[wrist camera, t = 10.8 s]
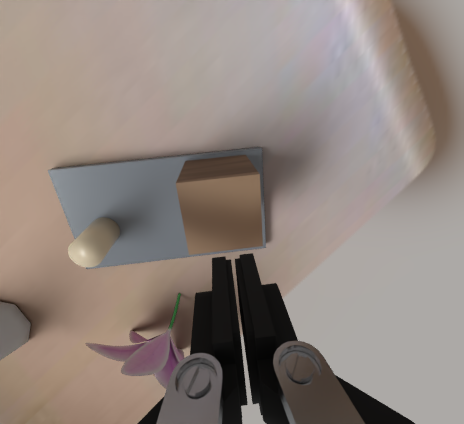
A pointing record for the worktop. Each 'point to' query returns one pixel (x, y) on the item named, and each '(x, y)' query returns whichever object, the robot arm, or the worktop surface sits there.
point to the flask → (12, 329)
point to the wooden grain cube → (220, 204)
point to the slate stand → (132, 208)
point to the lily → (146, 354)
